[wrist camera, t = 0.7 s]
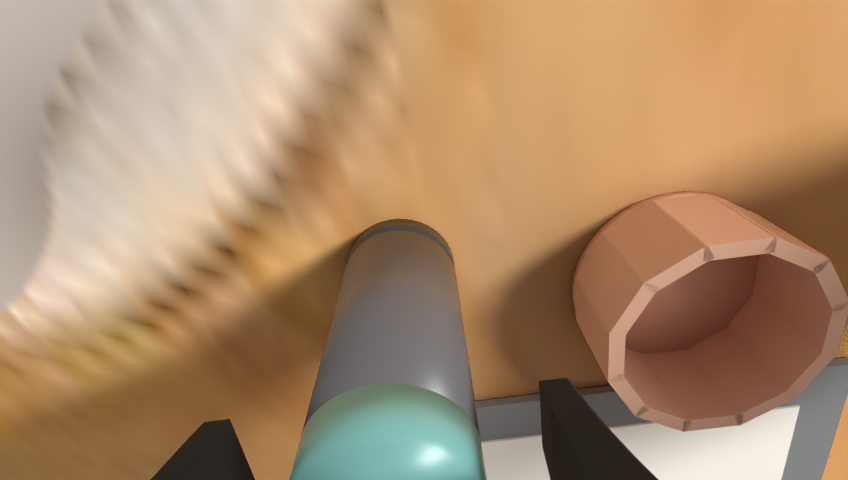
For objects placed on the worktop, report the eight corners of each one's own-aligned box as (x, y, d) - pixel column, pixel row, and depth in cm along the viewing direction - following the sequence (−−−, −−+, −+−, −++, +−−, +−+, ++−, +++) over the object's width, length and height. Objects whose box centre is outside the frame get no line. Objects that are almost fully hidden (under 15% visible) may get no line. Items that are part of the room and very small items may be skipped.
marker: (447, 212, 18) (481, 430, 9) (459, 305, 19) (498, 569, 10) (337, 226, 18) (257, 456, 9) (359, 318, 19) (311, 588, 10)
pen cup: (777, 177, 17) (874, 223, 14) (747, 343, 20) (819, 416, 17) (570, 205, 18) (611, 257, 14) (572, 364, 21) (605, 440, 17)
